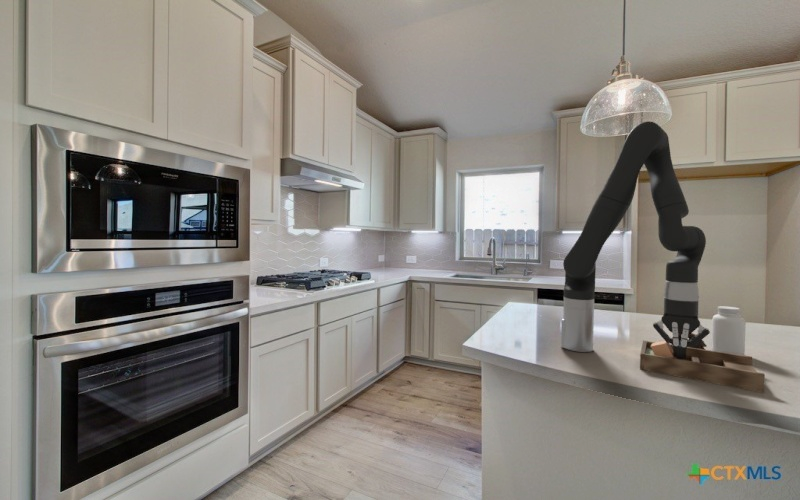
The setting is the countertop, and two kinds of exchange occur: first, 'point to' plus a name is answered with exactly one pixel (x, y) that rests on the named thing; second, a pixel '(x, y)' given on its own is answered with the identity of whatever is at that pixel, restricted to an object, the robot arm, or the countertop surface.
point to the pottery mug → (699, 345)
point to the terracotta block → (662, 349)
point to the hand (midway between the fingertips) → (679, 359)
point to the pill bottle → (728, 331)
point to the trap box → (706, 367)
